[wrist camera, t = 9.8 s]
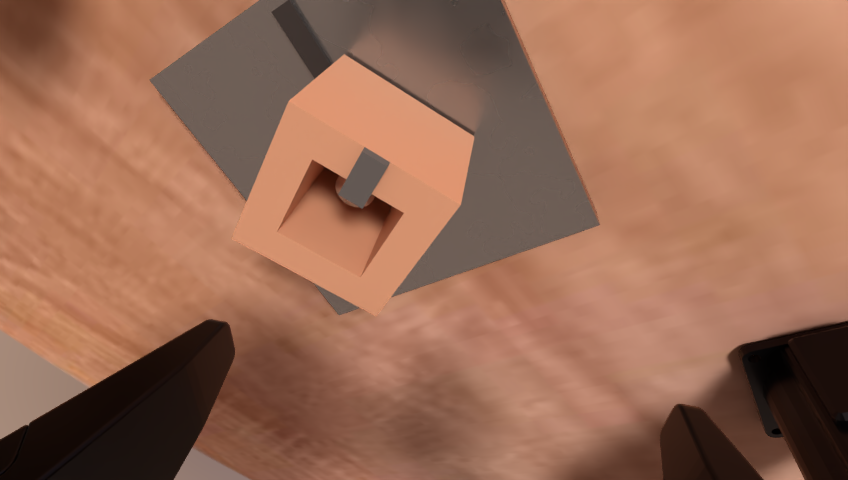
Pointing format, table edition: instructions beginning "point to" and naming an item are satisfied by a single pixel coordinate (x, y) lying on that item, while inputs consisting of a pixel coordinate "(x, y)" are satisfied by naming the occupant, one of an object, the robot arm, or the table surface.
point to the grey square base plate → (416, 76)
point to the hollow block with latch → (355, 185)
